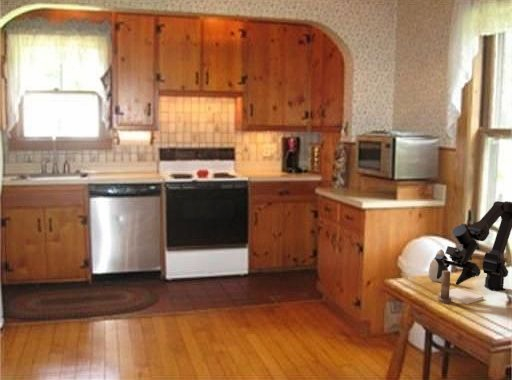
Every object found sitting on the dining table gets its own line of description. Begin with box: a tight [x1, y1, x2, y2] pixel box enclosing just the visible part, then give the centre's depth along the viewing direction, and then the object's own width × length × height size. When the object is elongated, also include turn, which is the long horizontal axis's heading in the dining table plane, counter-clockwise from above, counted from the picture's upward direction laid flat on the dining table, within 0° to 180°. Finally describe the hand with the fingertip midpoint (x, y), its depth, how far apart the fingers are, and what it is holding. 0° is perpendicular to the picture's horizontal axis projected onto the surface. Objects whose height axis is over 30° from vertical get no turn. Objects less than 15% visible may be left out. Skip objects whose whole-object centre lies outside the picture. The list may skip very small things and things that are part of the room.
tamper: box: [437, 270, 452, 305], centre depth 217 cm, size 5×5×12 cm
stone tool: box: [427, 248, 449, 283], centre depth 245 cm, size 8×3×15 cm, turn 68°
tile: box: [439, 287, 484, 305], centre depth 223 cm, size 11×13×1 cm
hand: (446, 281), depth 217 cm, fingers open, 9 cm apart
